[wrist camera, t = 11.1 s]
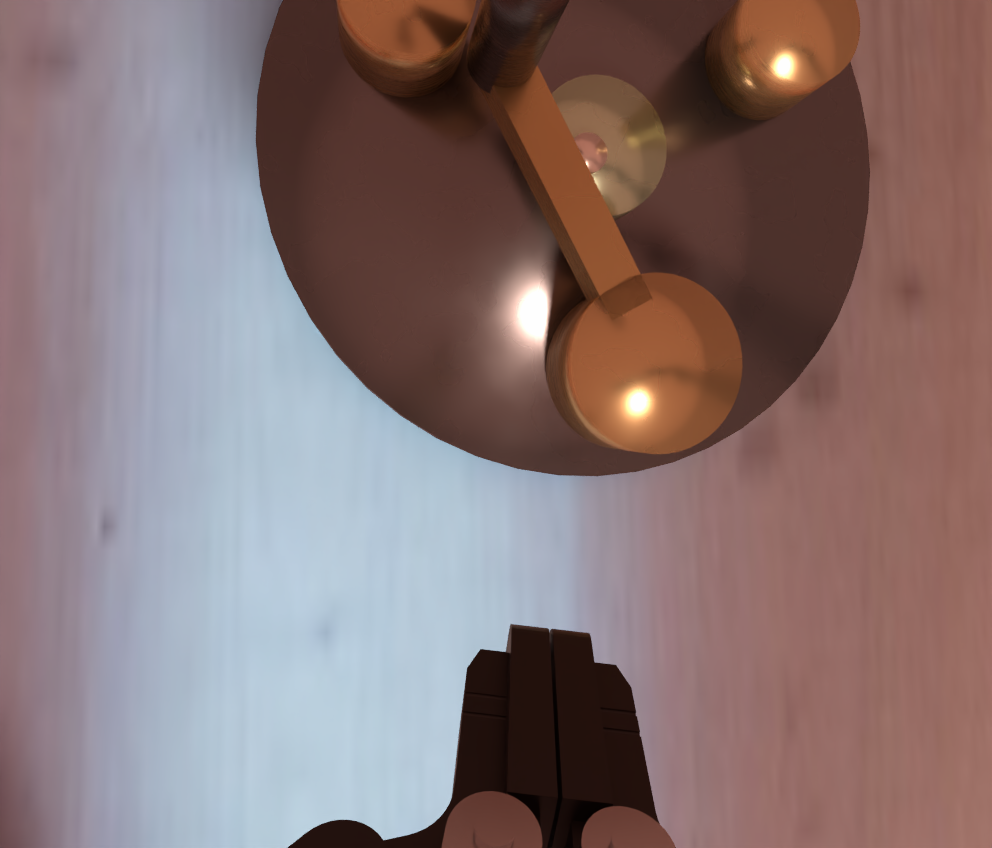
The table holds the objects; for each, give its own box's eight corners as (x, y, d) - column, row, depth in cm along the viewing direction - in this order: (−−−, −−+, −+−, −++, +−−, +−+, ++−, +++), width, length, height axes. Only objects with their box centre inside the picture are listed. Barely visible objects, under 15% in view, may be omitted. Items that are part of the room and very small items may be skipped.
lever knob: (721, 402, 26) (910, 396, 17) (592, 478, 25) (719, 514, 16) (542, 37, 24) (646, -181, 15) (397, 104, 24) (417, -88, 15)
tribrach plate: (848, -107, 28) (926, -191, 24) (856, 461, 29) (933, 469, 25) (249, -191, 24) (226, -311, 20) (270, 487, 24) (252, 502, 20)
